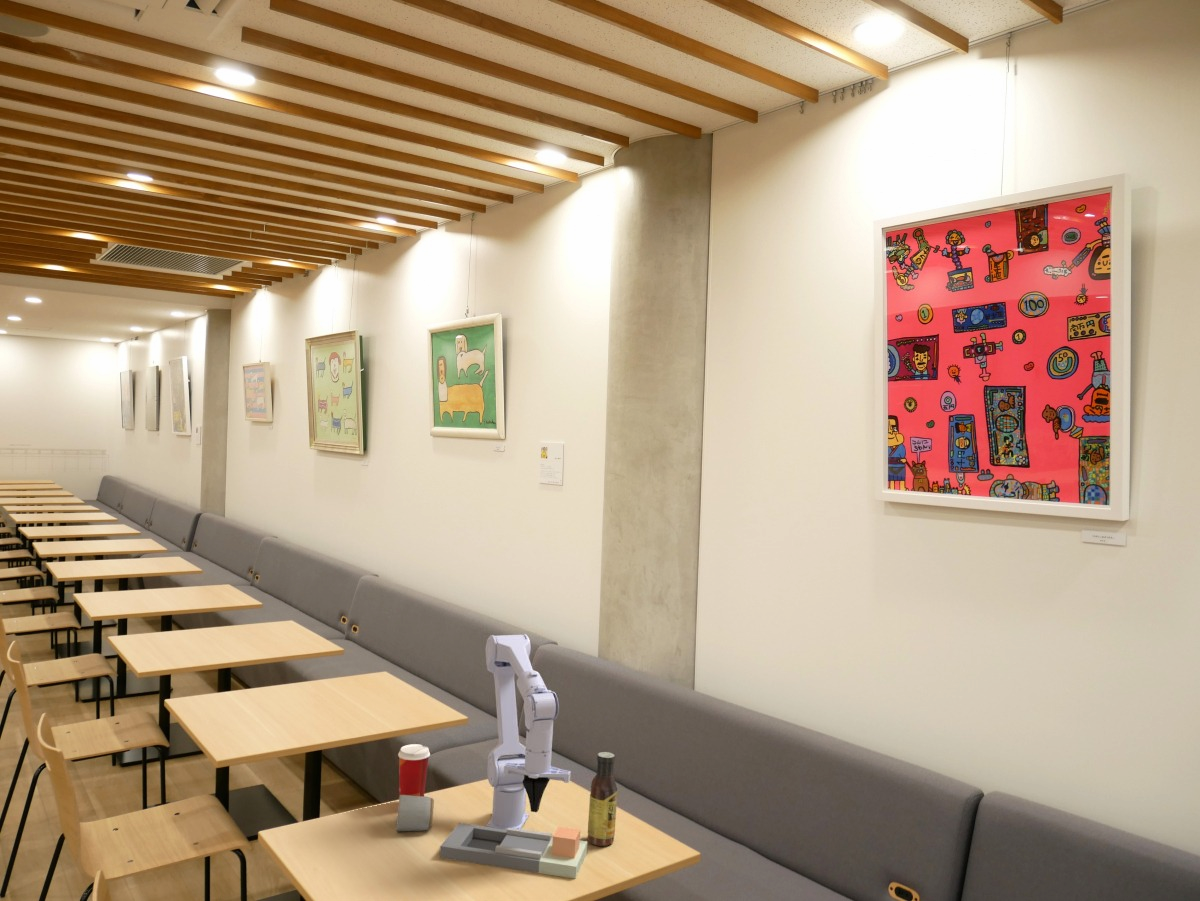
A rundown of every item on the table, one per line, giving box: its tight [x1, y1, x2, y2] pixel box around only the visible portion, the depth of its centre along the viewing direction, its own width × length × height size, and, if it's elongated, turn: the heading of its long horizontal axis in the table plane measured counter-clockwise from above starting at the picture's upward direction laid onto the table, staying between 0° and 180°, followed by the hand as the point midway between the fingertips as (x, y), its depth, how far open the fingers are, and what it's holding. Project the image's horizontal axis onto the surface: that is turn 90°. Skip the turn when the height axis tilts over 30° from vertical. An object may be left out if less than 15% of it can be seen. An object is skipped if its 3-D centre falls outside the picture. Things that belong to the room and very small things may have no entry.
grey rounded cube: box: [395, 795, 435, 832], centre depth 202 cm, size 11×8×8 cm
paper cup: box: [397, 743, 431, 798], centre depth 212 cm, size 8×8×14 cm
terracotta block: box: [552, 826, 581, 858], centre depth 188 cm, size 5×5×4 cm
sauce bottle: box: [587, 751, 618, 847], centre depth 200 cm, size 7×6×20 cm
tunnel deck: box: [439, 822, 588, 879], centre depth 191 cm, size 12×30×4 cm, turn 80°
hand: (534, 810), depth 190 cm, fingers closed
